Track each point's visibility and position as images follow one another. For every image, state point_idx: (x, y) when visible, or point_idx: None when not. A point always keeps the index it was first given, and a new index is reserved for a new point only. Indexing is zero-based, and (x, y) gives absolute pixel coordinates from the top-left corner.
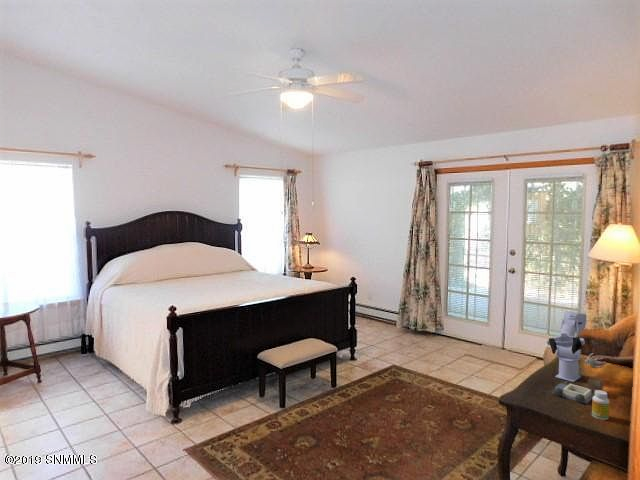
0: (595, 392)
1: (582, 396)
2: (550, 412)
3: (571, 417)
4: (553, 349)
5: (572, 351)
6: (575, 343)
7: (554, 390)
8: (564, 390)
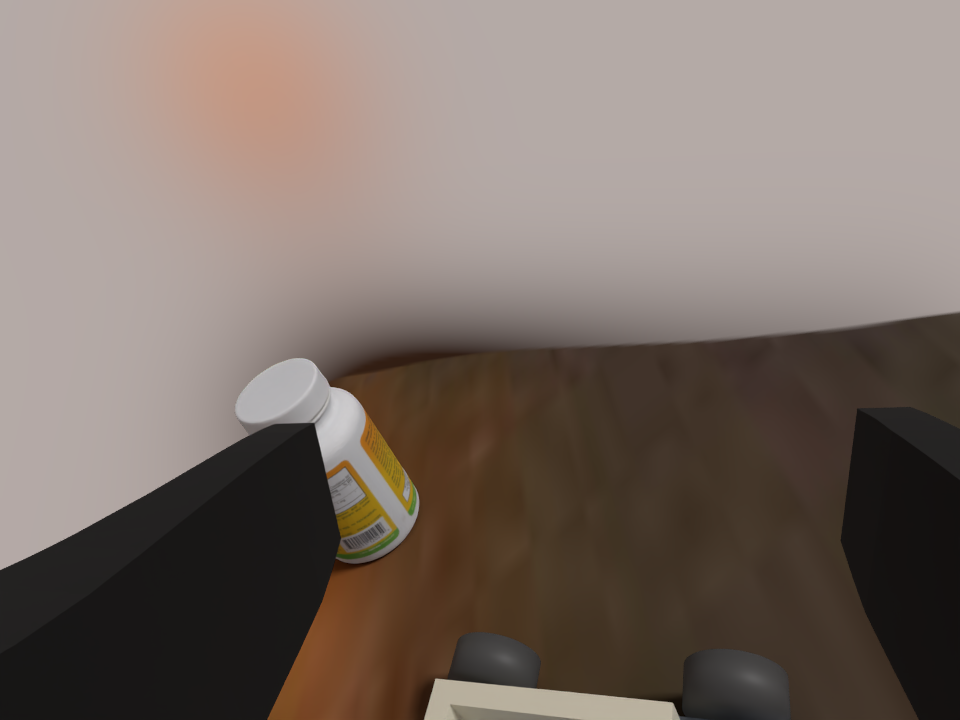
0: (316, 367)
1: (460, 645)
2: (663, 359)
3: (535, 391)
4: (864, 419)
5: (316, 474)
6: (17, 568)
7: (770, 669)
8: (657, 706)
